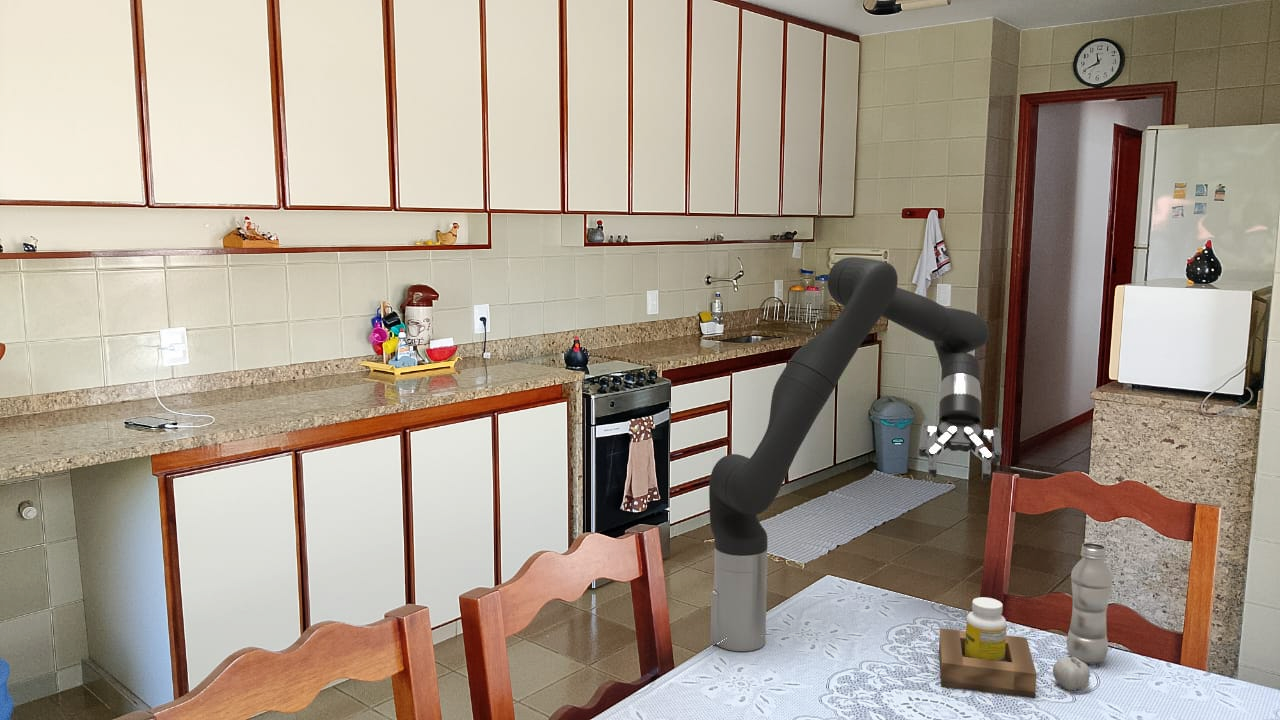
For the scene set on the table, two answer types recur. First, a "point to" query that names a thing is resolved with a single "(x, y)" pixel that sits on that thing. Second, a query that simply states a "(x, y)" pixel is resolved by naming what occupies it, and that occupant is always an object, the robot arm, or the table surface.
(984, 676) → the wooden square tray
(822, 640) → the table surface
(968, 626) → the pill bottle
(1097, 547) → the plastic bottle
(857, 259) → the robot arm
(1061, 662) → the garlic
